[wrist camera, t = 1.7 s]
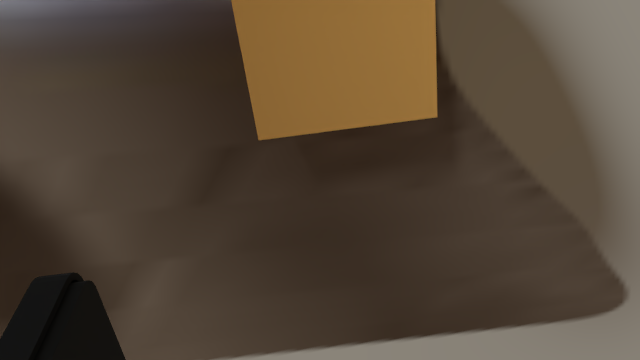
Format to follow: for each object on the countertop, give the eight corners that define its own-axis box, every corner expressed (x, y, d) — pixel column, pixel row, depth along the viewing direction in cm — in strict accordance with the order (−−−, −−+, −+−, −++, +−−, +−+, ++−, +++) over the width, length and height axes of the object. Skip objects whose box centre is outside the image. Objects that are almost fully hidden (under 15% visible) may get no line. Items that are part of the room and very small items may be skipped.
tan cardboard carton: (234, -76, 21) (222, -46, 17) (403, -100, 21) (433, -75, 17) (262, 81, 25) (258, 140, 20) (410, 62, 24) (437, 117, 20)
